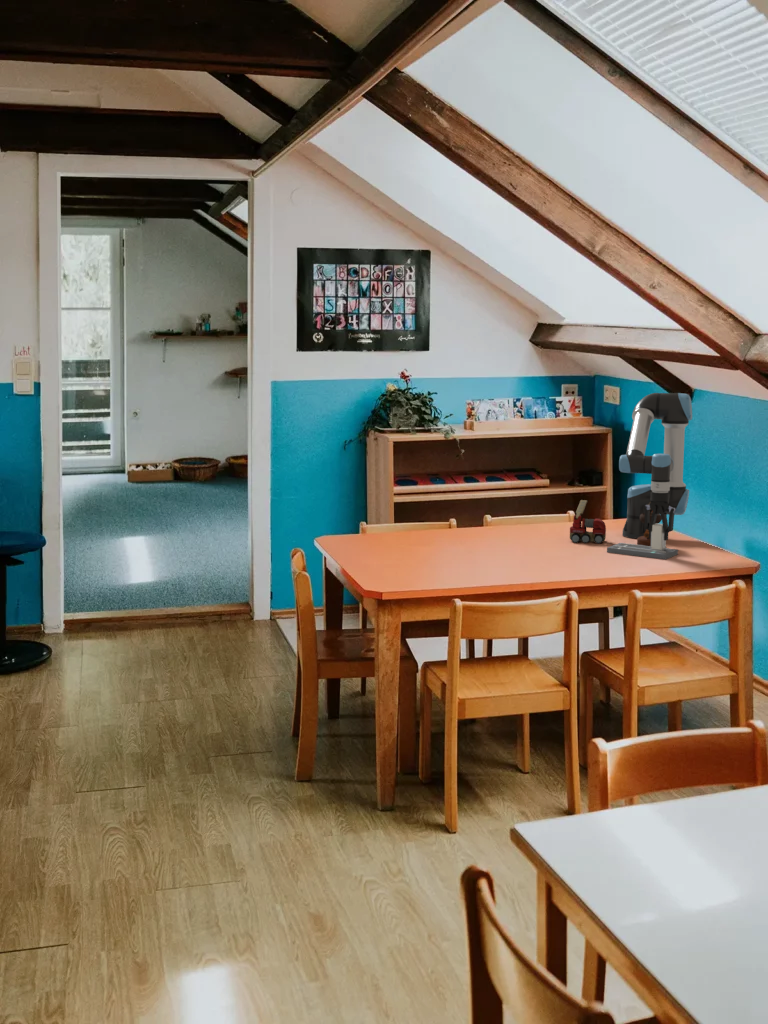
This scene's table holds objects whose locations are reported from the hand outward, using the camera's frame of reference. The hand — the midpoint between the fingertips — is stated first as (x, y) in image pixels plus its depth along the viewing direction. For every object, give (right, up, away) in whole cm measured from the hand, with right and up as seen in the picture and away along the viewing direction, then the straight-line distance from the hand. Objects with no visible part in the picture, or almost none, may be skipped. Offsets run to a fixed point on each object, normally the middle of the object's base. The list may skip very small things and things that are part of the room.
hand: (658, 547), depth 462 cm
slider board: (-6, -3, +5) cm, 8 cm away
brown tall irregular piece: (+1, 0, +21) cm, 21 cm away
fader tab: (0, -1, 0) cm, 1 cm away
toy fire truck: (-23, +1, +32) cm, 40 cm away
